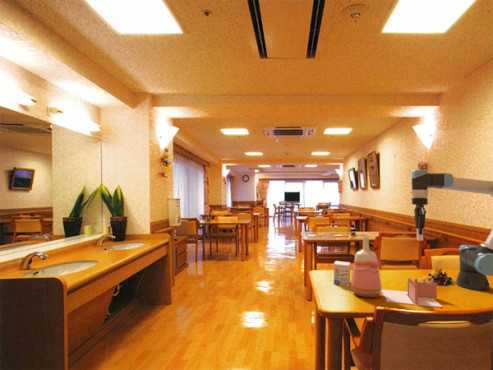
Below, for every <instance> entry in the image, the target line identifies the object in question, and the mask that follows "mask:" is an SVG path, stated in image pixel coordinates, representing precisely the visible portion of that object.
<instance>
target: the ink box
mask: <svg viewBox="0 0 493 370" xmlns="http://www.w3.org/2000/svg"><path fill="white" fill-rule="evenodd" d="M333 284H334V285H337V284H341V285H340V286H346V285H349V286H351V262H349V261H340V260H335V261H334V262H333Z"/></svg>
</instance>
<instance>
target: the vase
mask: <svg viewBox="0 0 493 370" xmlns="http://www.w3.org/2000/svg"><path fill="white" fill-rule="evenodd" d="M369 239H370V237H369V236H368V235H367V236H365V235H363V236H362V249H360V250H358V251H356V253H354V254H355V256H354V260H353V261H354V262H353V269H352V274H351V275H352V276H351V280H350V289H351V291H352V292H353V293H354V294H355V295H357V296H358V297H359V296H360V297H362V298H369V299H370V298H371V299H372V298H373V299H374V298H377V297H379V296H381V294H382V282H381V276H380V275H381V274H380V269H379V263H378V256H377V254H376V252H374V251H371V250H370V241H369Z"/></svg>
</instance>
